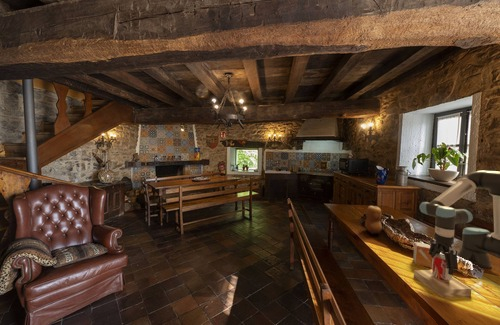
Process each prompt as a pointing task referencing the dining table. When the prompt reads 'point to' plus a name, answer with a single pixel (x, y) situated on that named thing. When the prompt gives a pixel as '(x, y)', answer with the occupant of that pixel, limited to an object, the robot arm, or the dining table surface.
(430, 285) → the square wooden board
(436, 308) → the dining table surface
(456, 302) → the dining table surface
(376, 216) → the butternut squash
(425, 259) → the small box
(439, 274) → the soda can
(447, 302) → the dining table surface
